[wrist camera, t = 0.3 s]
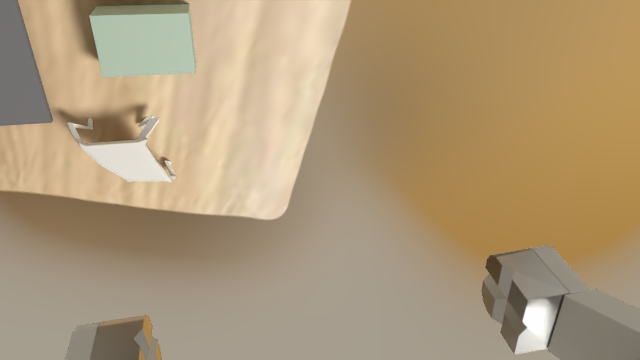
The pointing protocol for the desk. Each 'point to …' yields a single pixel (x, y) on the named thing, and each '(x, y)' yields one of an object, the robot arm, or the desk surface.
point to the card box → (144, 39)
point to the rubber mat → (19, 72)
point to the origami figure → (126, 154)
